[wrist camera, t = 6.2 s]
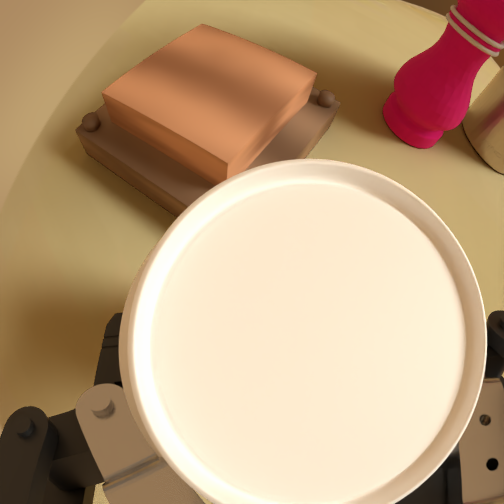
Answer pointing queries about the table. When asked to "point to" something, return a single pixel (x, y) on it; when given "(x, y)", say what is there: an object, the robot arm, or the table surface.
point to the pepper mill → (445, 74)
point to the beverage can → (304, 339)
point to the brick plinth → (205, 116)
